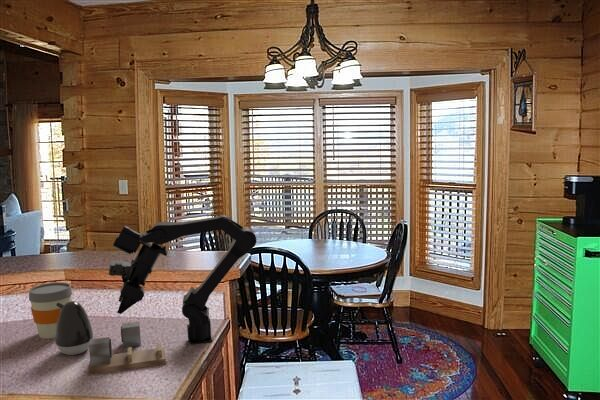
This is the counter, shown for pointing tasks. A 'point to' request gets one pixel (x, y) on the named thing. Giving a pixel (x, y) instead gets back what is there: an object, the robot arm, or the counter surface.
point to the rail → (121, 357)
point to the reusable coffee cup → (48, 306)
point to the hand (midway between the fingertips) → (119, 307)
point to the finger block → (130, 334)
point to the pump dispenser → (73, 329)
